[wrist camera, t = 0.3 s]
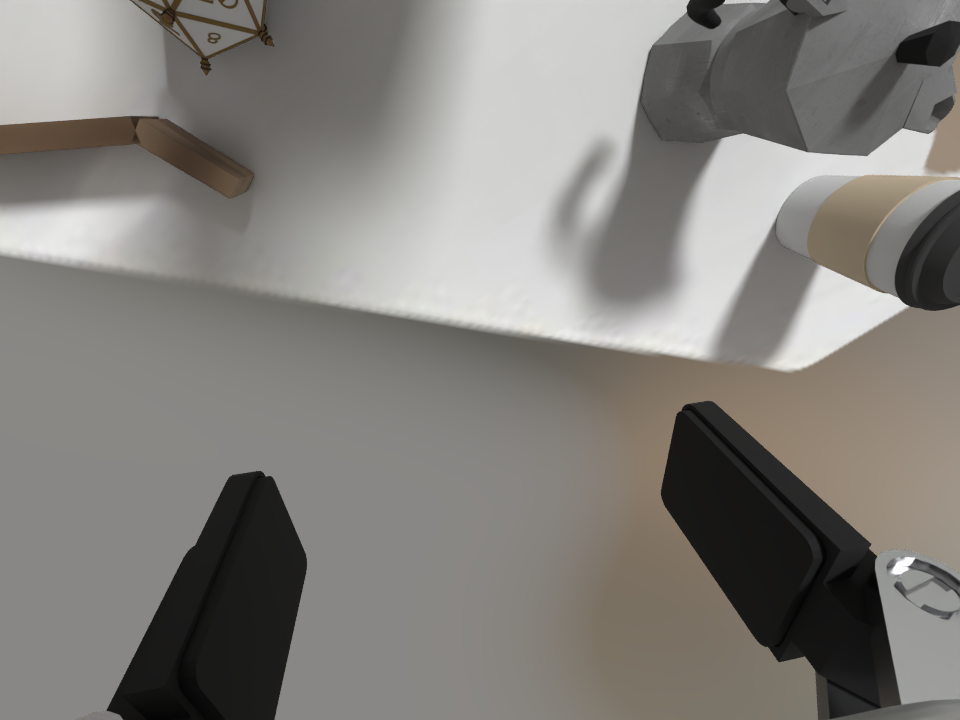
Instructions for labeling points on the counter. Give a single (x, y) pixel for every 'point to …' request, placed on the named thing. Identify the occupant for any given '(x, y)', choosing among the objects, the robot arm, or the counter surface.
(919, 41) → the coffeepot
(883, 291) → the coffee cup
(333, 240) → the counter surface
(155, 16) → the game die
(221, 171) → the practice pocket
